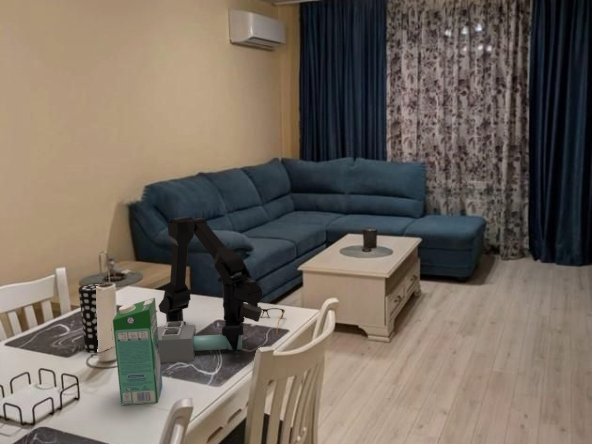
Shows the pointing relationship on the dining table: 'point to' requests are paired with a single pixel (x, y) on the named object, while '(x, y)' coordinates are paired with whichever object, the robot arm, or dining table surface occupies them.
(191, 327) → the housing
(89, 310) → the spotted tube
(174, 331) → the plunger
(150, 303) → the milk carton
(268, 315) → the eyeglasses
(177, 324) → the plunger
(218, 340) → the cartridge
